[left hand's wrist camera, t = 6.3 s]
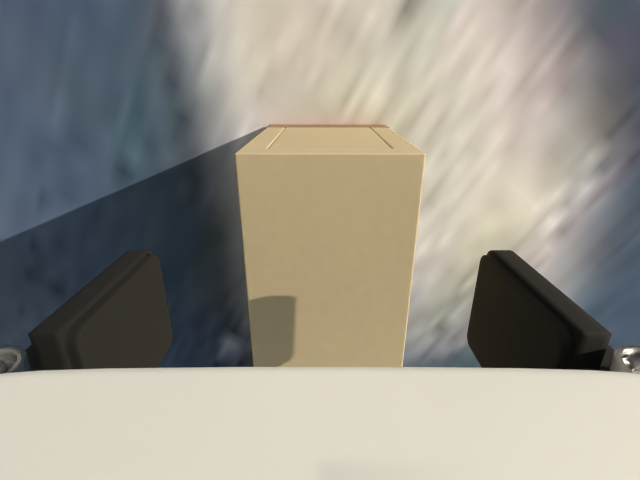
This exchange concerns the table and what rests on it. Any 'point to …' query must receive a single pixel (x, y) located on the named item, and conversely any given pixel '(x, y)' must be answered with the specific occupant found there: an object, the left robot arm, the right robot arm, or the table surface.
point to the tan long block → (329, 243)
